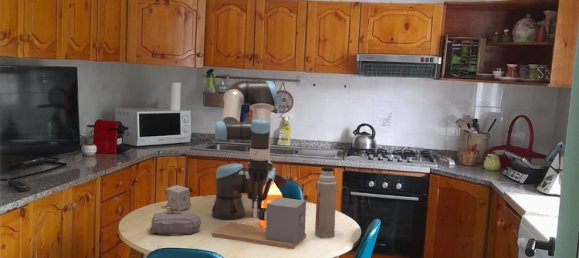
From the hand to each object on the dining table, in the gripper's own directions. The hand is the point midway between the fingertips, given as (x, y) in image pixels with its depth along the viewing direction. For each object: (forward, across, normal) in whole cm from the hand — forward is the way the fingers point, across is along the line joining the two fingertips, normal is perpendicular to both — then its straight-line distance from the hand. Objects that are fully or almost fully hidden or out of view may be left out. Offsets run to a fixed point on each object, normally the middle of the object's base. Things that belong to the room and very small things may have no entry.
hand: (256, 216), depth 213 cm
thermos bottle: (+8, +25, +14) cm, 30 cm away
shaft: (+1, +11, 0) cm, 11 cm away
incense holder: (+9, -49, +21) cm, 54 cm away
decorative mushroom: (+8, -11, +50) cm, 52 cm away
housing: (+8, +2, 0) cm, 8 cm away
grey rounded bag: (+9, -32, -7) cm, 34 cm away
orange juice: (+8, 0, +16) cm, 18 cm away
